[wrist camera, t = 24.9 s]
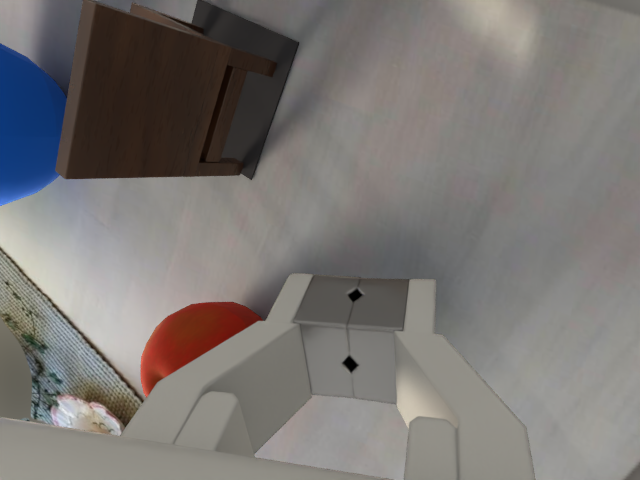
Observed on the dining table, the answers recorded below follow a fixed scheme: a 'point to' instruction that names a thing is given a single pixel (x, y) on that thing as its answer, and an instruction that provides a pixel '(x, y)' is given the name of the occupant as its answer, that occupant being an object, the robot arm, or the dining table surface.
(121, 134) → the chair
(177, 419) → the robot arm
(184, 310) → the apple
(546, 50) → the dining table surface
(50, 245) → the dining table surface
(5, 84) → the vase
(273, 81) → the pad
